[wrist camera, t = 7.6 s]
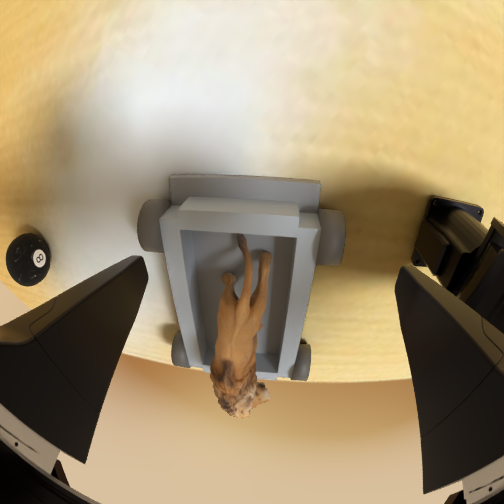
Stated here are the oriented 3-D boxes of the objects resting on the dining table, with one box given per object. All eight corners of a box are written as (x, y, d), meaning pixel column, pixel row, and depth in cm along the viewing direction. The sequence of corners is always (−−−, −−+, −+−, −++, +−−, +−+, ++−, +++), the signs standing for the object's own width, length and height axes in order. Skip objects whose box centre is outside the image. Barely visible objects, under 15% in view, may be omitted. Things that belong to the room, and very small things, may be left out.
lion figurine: (275, 351, 28) (268, 425, 21) (226, 348, 29) (210, 420, 21) (273, 228, 20) (263, 314, 13) (204, 228, 21) (161, 308, 14)
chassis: (341, 183, 19) (353, 203, 15) (302, 365, 30) (302, 393, 27) (154, 174, 20) (130, 192, 17) (187, 353, 32) (178, 378, 28)
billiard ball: (65, 265, 27) (36, 297, 22) (40, 267, 28) (14, 295, 23) (45, 221, 24) (11, 249, 19) (22, 228, 25) (-8, 253, 20)
